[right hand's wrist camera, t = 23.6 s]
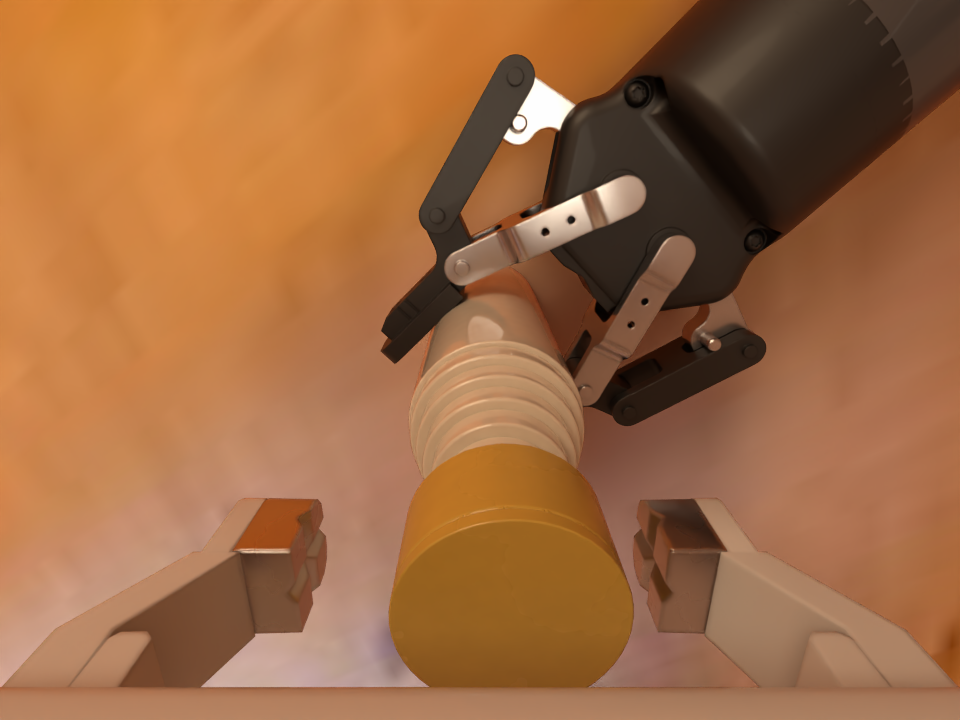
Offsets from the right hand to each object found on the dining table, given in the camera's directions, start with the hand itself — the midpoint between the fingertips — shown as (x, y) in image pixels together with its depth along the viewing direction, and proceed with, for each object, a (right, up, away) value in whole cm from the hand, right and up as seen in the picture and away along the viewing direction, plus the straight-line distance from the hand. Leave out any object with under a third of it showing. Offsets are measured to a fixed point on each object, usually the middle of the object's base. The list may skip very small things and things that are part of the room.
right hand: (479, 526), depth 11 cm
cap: (0, -1, -2) cm, 2 cm away
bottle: (0, +6, +16) cm, 17 cm away
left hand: (-1, +2, +10) cm, 11 cm away
